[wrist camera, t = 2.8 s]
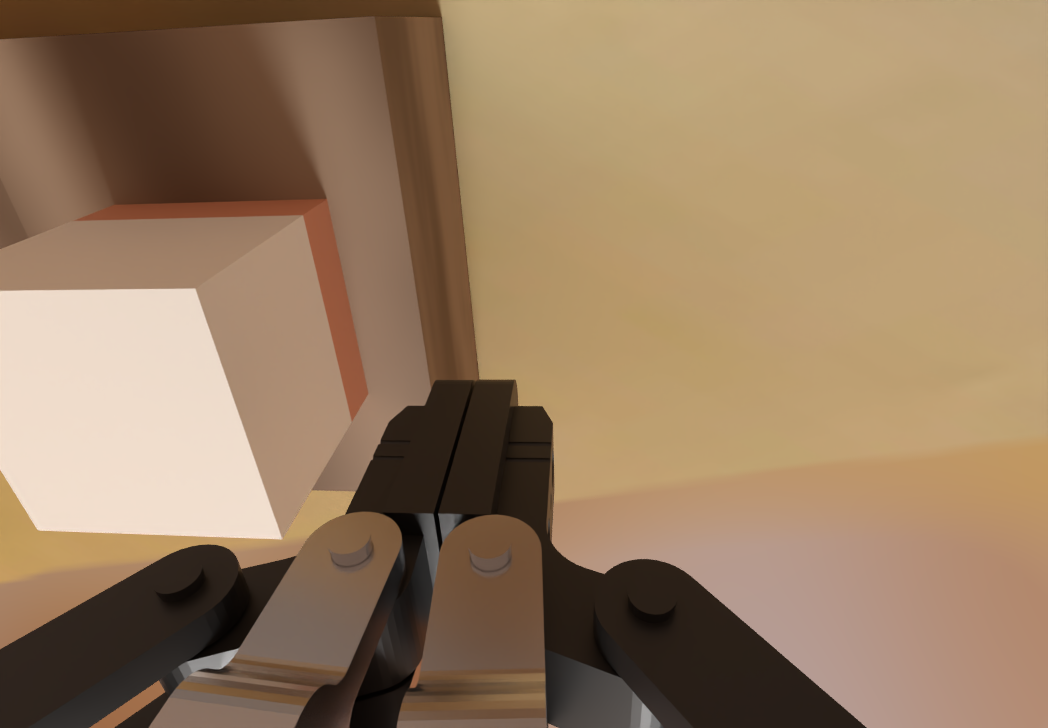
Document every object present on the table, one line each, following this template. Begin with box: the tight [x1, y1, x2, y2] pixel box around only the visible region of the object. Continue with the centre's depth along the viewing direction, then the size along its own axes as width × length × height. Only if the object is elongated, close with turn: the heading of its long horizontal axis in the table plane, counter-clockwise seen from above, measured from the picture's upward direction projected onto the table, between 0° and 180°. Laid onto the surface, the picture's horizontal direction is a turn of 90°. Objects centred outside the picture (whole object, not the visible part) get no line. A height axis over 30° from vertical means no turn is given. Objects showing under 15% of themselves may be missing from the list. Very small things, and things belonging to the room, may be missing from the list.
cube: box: [0, 199, 368, 539], centre depth 15 cm, size 6×6×6 cm
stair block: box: [0, 16, 479, 491], centre depth 21 cm, size 28×14×7 cm, turn 93°
